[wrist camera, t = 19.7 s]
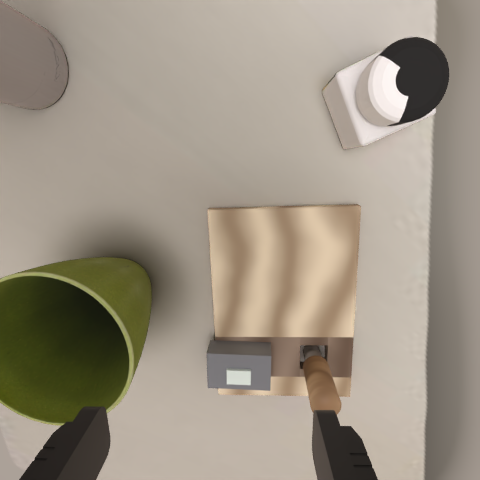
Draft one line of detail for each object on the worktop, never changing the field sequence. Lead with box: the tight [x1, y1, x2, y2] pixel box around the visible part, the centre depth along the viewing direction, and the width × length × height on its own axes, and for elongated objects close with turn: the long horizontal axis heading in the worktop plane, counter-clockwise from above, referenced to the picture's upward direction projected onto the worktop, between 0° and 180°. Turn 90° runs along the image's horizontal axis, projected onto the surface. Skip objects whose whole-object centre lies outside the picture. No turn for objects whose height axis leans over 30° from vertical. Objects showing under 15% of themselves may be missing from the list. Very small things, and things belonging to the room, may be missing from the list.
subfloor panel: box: [207, 204, 361, 397], centre depth 41 cm, size 18×26×2 cm
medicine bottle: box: [322, 36, 449, 149], centre depth 29 cm, size 7×7×12 cm
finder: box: [207, 340, 271, 391], centre depth 40 cm, size 8×5×3 cm, turn 90°
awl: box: [303, 345, 341, 415], centre depth 38 cm, size 3×3×10 cm
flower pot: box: [0, 257, 152, 426], centre depth 34 cm, size 15×15×16 cm
